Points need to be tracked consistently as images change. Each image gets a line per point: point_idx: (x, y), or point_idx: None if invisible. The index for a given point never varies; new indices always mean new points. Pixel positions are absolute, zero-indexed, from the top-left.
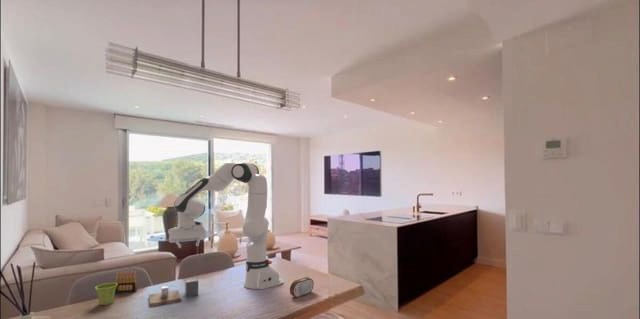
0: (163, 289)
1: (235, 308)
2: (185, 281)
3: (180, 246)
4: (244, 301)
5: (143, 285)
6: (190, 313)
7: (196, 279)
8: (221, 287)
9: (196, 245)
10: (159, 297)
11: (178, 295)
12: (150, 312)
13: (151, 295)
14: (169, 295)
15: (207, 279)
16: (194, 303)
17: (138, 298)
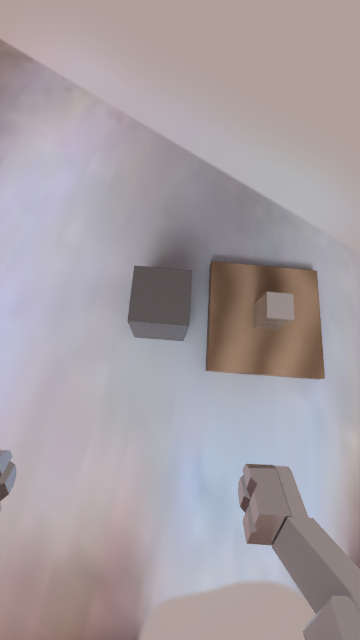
0: (284, 295)
1: (75, 118)
2: (189, 302)
3: (258, 466)
4: (26, 147)
5: None
6: (199, 157)
7: (136, 292)
8: (24, 328)
9: (8, 458)
10: None
11: (215, 296)
12: (306, 228)
13: (315, 361)
14: (247, 317)
15: (27, 510)
16: (172, 221)
17: (357, 395)
